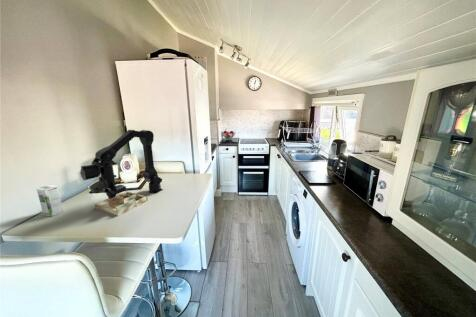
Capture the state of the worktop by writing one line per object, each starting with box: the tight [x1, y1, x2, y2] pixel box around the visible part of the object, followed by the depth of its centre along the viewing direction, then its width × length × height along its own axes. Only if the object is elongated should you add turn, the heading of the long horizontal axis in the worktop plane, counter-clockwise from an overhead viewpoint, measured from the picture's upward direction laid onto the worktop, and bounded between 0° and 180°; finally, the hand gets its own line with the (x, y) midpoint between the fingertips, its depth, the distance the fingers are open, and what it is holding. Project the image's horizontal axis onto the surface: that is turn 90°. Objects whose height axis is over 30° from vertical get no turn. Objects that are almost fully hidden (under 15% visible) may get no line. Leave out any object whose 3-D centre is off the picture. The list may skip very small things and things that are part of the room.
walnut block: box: [107, 196, 124, 208], centre depth 100 cm, size 5×5×4 cm
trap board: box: [94, 190, 149, 217], centre depth 107 cm, size 18×19×4 cm
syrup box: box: [36, 184, 64, 217], centre depth 96 cm, size 6×6×14 cm
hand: (112, 201), depth 103 cm, fingers closed
